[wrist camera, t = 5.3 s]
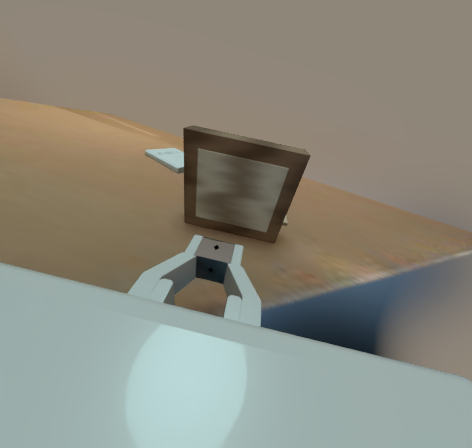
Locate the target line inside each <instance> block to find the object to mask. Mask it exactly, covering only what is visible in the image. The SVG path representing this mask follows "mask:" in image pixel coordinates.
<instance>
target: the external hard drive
mask: <svg viewBox="0 0 472 448" xmlns="http://www.w3.org/2000/svg"><path fill="white" fill-rule="evenodd" d="M145 155H147V156H148V157H150V158H152V159H154V160H155V161H157V162H159V163H161V164H162V165H164V166H166V167H168V168H169V169H171V170H173V171H175V172H176V173H183V172H184V152H182V151H180V150H178V149H175V148H167V149H154V150H146V151H145Z"/></svg>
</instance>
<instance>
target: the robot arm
mask: <svg viewBox="0 0 472 448" xmlns="http://www.w3.org/2000/svg"><path fill="white" fill-rule="evenodd" d="M242 253H243V246H242V245H238V244H233V243H228V242H224V241H219V240H215V239H211V238H208V237H203V236H199V235H195V236H194V237H193V239H192V240H191V242H190V244H189V246H188V247H187V249H186V251H185V253H180V254H178V255H176V256H174V257H172V258H170V259H168V260H166V261H164V262H162V263H161V264H159V265H157V266H155V267H153V268H151V269H149V270H147V271H145V272H143V273H142V275H141V276H140V277H139V279H138V280H137V281H136V283H135V284H134V285H133V287H132V288H131V289H130V291H129V292H128V293H127V294H126V293H122V292H118V291H114V290H110V289H106V288H102V287H98V286H94V285H90V284H85V283H81V282H77V281H73V280H69V279H65V278H61V277H57V276H53V275H49V274H45V273H41V272H37V271H33V270H29V269H25V268H21V267H17V266H13V265H9V264H5V263H1V262H0V448H472V382H471V381H469V380H467V379H465V378H463V377H460V376H457V375H454V374H450V373H446V372H441V371H437V370H433V369H429V368H425V367H421V366H417V365H413V364H409V363H405V362H401V361H397V360H393V359H389V358H385V357H380V356H376V355H372V354H368V353H364V352H360V351H356V350H352V349H348V348H344V347H340V346H336V345H332V344H327V343H324V342H319V341H315V340H311V339H308V338H303V337H299V336H295V335H291V334H287V333H283V332H279V331H275V330H271V329H267V328H263V327H260V322H261V300H260V298H259V297H258V295H257V293H256V291H255V289H254V287H253V285H252V283H251V282H250V280H249V278H248V276H247V274H246V272H245V270H244V269H243V267H241V266H240V265H241V259H242ZM195 277H197V278H201V279H206V280H210V281H214V282H218V283H221V284H223V286H224V289H225V292H226V295H227V298H228V299H227V303H226V307H225V311H224V314H223V317H219V316H215V315H211V314H207V313H202V312H198V311H194V310H190V309H186V308H182V307H178V306H175V302H174V295H175V294H176V293H178V292H179V291H180V290H181V289H182V288H184V287H185V286H186V285H187V284H189V283H190V282H191V281H192V280H194V279H195Z"/></svg>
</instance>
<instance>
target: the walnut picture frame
mask: <svg viewBox="0 0 472 448" xmlns="http://www.w3.org/2000/svg"><path fill="white" fill-rule="evenodd" d="M309 158H310V154H309V153H308V152H307V151H306V150H304V149H299V148H295V147H290V146H286V145H281V144H276V143H272V142H267V141H262V140H258V139H253V138H248V137H244V136H239V135H235V134H230V133H225V132H221V131H216V130H211V129H207V128H202V127H198V126H189V127H186V128H184V212H185V222H186V223H190V224H194V225H199V226H203V227H207V228H212V229H216V230H220V231H225V232H229V233H233V234H237V235H242V236H246V237H250V238H255V239H259V240H263V241H268V242H272V243H275V241H276V238H277V236H278V233H279V231H280V229H281V226H282V224H283V221H284V219H285V216H286V214H287V212H288V209H289V207H290V204H291V202H292V199H293V197H294V195H295V192H296V190H297V187H298V185H299V182H300V180H301V178H302V175H303V173H304V170H305V168H306V165H307V163H308V160H309Z"/></svg>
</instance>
